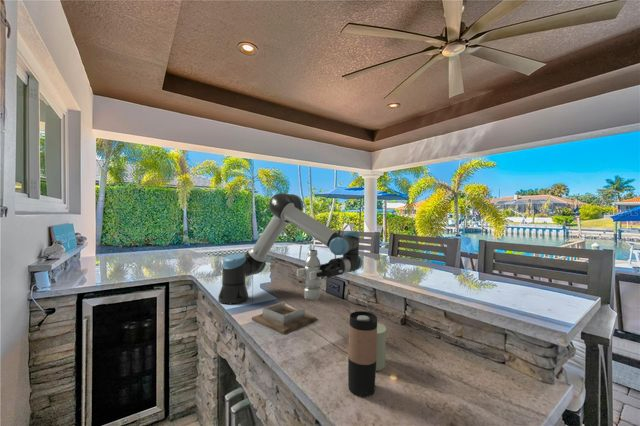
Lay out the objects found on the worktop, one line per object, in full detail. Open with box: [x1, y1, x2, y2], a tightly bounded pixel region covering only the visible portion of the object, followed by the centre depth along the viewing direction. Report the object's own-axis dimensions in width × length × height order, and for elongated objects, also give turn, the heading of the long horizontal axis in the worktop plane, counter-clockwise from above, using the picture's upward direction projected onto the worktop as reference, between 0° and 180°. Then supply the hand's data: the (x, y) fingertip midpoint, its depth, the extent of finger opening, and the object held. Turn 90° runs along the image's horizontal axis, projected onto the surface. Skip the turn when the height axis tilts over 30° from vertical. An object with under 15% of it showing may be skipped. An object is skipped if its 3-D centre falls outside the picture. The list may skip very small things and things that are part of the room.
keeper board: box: [251, 305, 317, 335], centre depth 122 cm, size 20×20×1 cm
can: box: [376, 322, 387, 372], centre depth 89 cm, size 9×9×12 cm
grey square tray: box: [262, 300, 306, 326], centre depth 122 cm, size 13×13×4 cm
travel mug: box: [347, 310, 378, 398], centre depth 76 cm, size 8×8×20 cm
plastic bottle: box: [303, 249, 321, 301], centre depth 112 cm, size 6×7×20 cm
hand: (303, 274), depth 108 cm, fingers closed on plastic bottle, 6 cm apart
